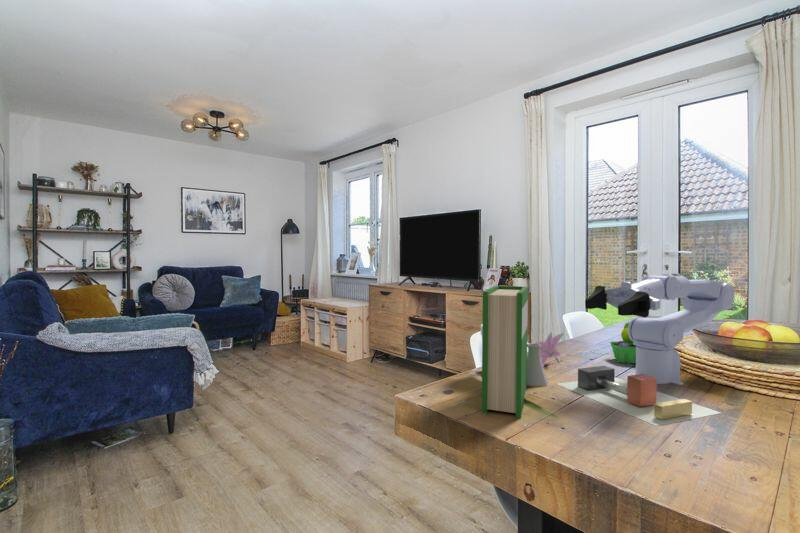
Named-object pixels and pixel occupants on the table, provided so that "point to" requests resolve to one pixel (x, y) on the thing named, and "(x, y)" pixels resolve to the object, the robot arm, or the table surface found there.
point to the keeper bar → (672, 409)
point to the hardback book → (504, 349)
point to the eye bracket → (594, 377)
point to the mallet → (635, 389)
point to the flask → (535, 366)
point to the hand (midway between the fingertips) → (602, 307)
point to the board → (644, 412)
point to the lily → (549, 348)
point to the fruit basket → (624, 348)
